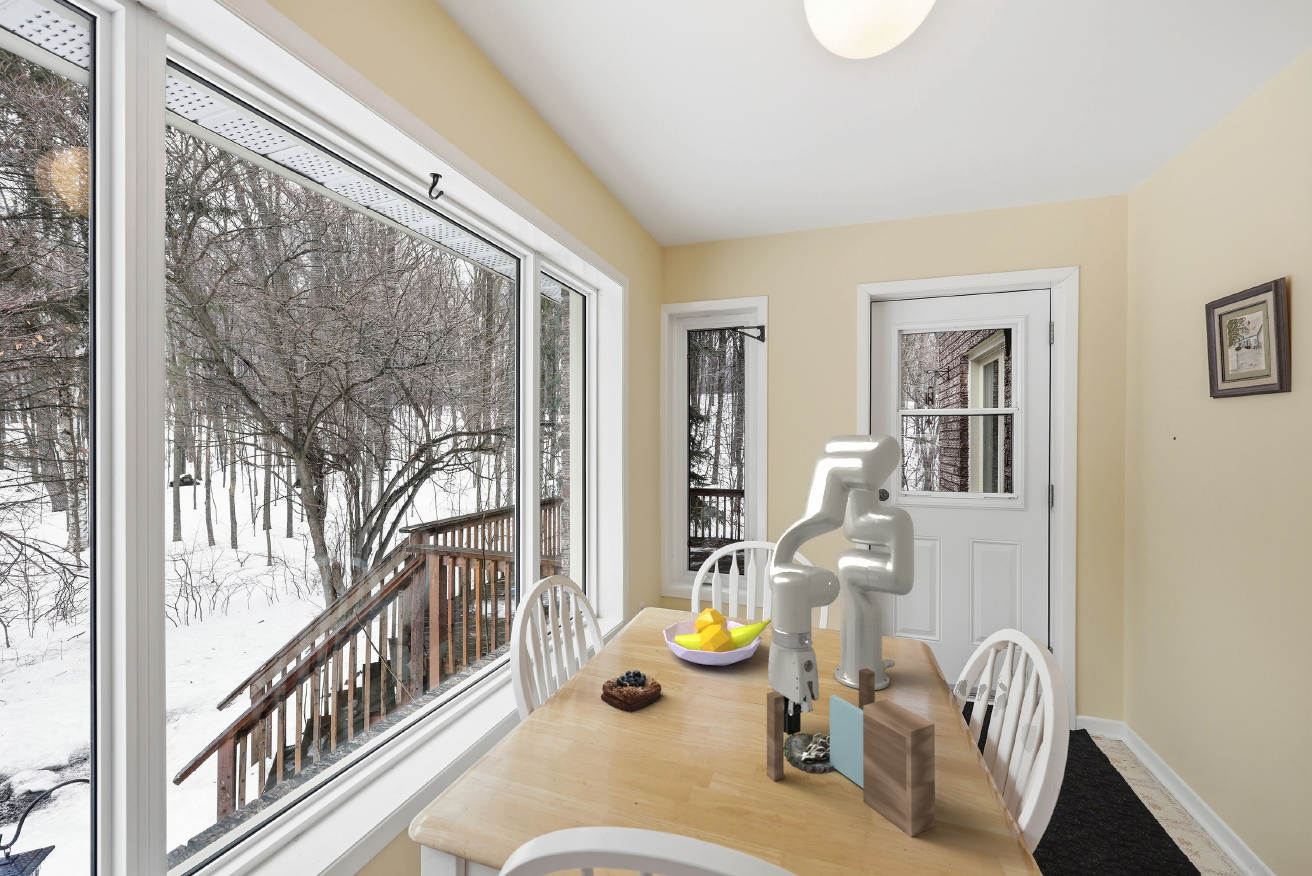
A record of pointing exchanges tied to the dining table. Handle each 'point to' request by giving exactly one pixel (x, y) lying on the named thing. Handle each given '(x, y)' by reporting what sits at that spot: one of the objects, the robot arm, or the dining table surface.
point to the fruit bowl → (713, 639)
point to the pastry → (631, 691)
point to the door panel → (846, 739)
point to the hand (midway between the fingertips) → (791, 731)
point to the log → (809, 752)
